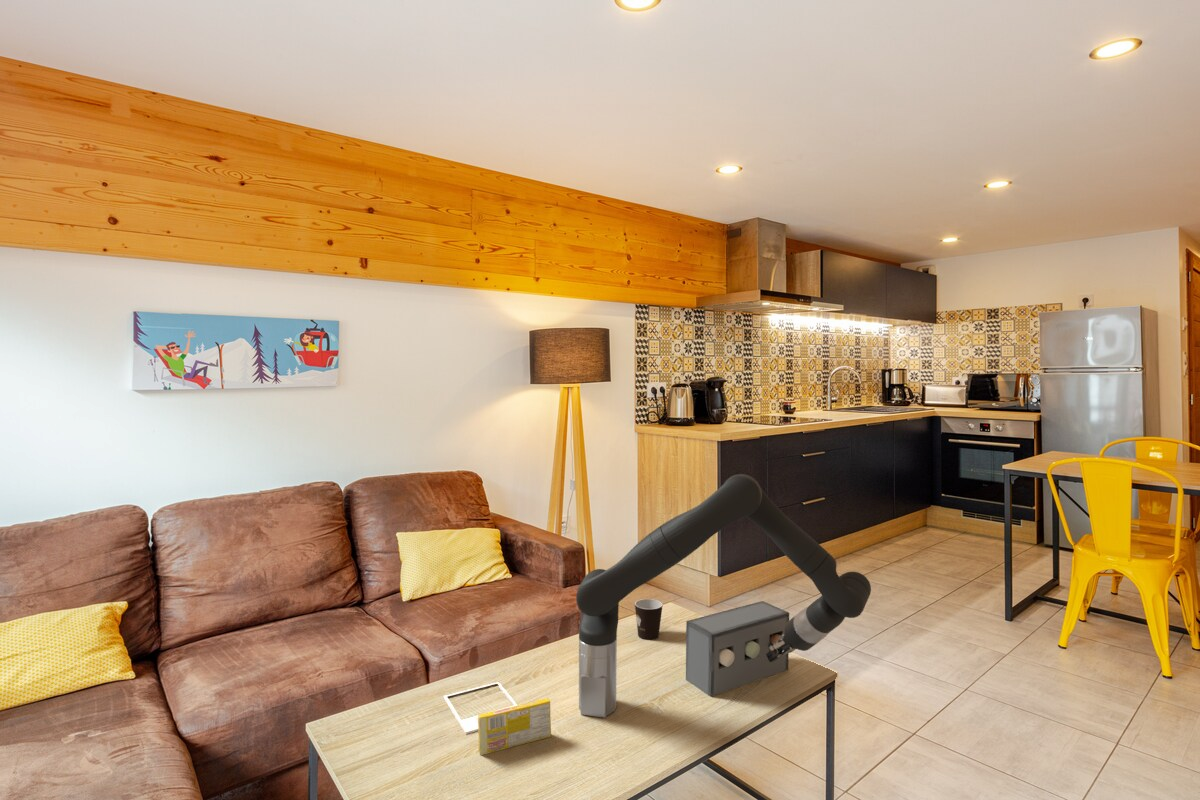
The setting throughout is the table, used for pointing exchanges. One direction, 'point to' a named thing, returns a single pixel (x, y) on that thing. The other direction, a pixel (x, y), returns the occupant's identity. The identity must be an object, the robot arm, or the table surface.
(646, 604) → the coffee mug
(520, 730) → the candy box
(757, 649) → the sage button
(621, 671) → the table surface
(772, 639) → the terracotta button
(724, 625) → the console
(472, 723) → the photo frame
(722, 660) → the cream button
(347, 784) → the table surface
